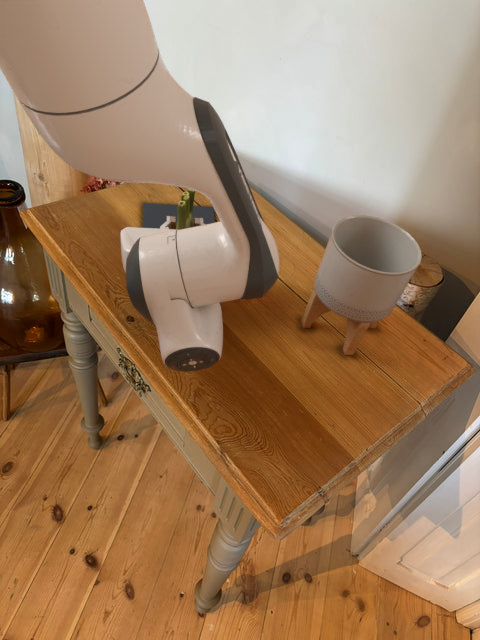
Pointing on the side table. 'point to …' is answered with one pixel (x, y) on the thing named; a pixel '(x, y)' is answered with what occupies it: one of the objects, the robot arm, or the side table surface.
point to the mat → (172, 214)
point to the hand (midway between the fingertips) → (184, 220)
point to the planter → (362, 274)
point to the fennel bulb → (185, 210)
